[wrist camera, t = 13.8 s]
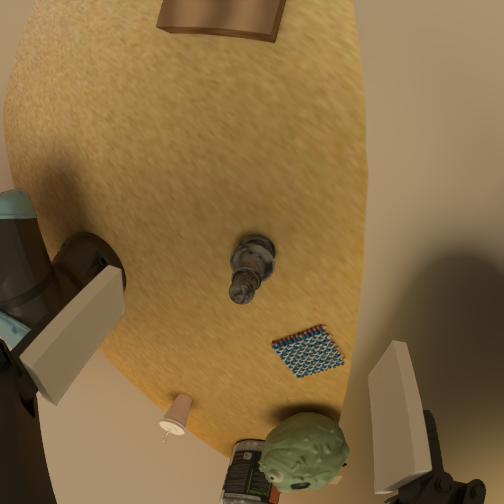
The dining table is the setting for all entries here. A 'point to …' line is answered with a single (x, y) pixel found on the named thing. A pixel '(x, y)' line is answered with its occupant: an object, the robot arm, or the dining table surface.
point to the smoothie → (177, 416)
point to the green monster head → (303, 452)
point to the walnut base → (223, 17)
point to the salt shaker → (250, 267)
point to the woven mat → (309, 351)
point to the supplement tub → (247, 477)
